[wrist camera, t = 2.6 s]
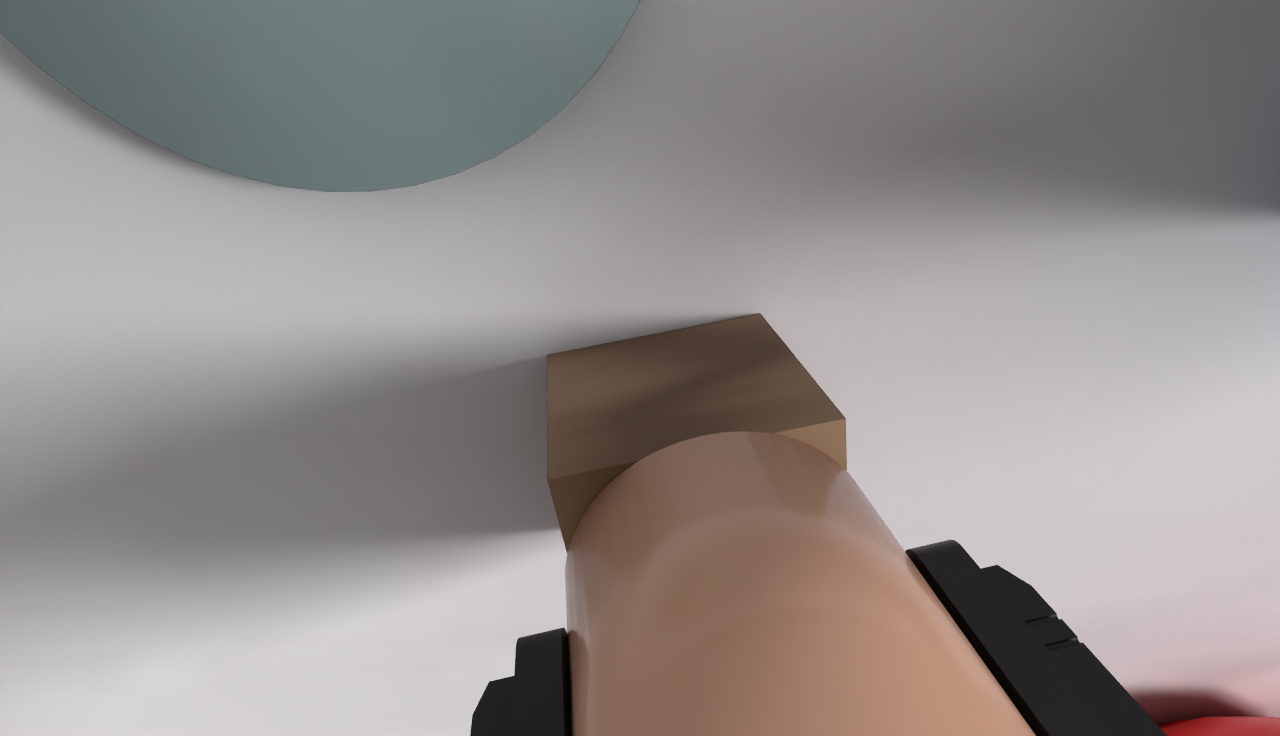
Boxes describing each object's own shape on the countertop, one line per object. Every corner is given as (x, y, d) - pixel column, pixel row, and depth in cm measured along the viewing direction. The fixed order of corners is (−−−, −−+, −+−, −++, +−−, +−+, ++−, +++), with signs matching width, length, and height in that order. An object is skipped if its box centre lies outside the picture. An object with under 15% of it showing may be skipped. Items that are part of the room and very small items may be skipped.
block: (759, 312, 16) (845, 418, 11) (773, 484, 18) (849, 632, 13) (547, 353, 15) (548, 479, 11) (588, 523, 18) (602, 686, 13)
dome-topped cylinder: (868, 398, 11) (1252, 818, 5) (874, 638, 13) (1135, 1107, 7) (529, 474, 11) (509, 1006, 5) (600, 703, 13) (645, 1236, 7)
